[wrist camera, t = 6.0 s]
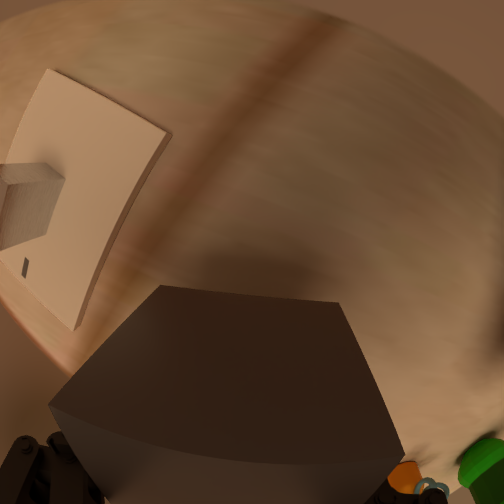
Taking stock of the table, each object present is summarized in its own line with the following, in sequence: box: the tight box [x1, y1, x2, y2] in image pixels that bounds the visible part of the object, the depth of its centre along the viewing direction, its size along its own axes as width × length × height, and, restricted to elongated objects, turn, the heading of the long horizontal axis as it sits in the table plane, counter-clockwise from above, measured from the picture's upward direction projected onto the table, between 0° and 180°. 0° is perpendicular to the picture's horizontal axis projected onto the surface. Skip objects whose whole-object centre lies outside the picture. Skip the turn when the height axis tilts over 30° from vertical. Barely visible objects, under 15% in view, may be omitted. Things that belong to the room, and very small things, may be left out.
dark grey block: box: [48, 285, 405, 504], centre depth 9 cm, size 10×8×9 cm
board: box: [0, 68, 172, 331], centre depth 15 cm, size 18×14×7 cm
